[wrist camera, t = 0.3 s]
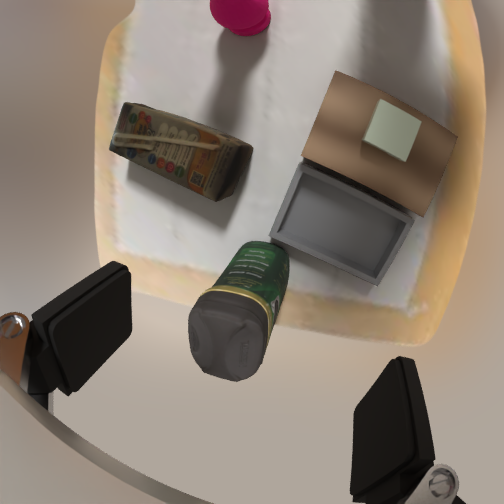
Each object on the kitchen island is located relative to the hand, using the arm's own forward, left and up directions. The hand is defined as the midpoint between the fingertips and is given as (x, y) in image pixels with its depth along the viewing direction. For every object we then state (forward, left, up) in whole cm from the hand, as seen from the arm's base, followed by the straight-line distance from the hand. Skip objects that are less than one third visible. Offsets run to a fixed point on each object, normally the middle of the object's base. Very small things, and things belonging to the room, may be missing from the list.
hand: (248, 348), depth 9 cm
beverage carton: (0, -18, -30) cm, 36 cm away
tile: (-12, +6, -25) cm, 28 cm away
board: (-10, +6, -30) cm, 32 cm away
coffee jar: (+13, -1, -30) cm, 33 cm away
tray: (+1, +6, -30) cm, 30 cm away
